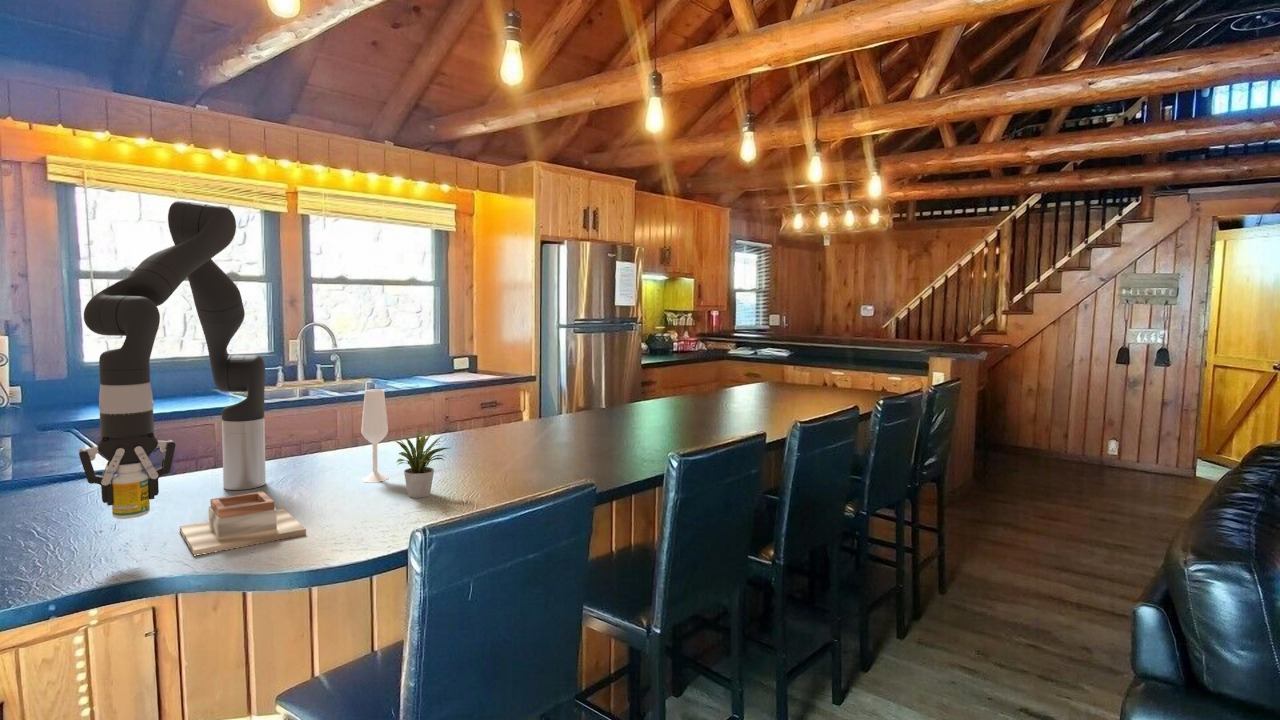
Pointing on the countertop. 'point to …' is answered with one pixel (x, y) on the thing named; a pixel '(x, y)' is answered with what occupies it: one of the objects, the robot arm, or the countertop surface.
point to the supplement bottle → (130, 491)
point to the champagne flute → (374, 426)
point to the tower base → (213, 544)
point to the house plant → (419, 466)
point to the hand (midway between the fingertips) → (130, 501)
